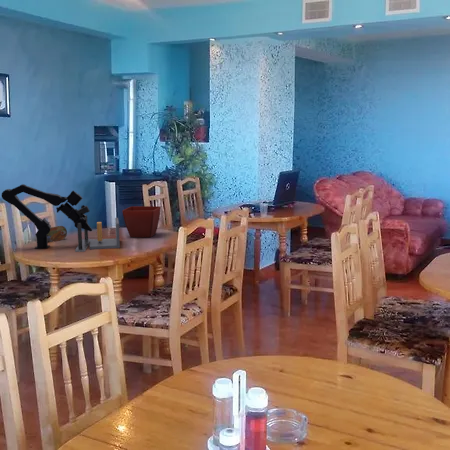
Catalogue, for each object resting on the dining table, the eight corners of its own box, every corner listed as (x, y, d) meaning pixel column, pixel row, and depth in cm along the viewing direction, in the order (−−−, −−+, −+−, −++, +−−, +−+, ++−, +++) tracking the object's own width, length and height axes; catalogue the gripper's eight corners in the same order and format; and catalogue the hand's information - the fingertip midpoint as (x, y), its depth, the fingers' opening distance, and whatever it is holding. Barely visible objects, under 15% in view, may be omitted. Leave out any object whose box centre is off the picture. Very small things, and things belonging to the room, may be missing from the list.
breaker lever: (97, 243, 337) (96, 223, 335) (97, 241, 342) (97, 222, 340) (102, 243, 337) (101, 223, 336) (102, 241, 342) (101, 221, 340)
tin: (46, 243, 348) (45, 228, 346) (43, 242, 350) (42, 228, 348) (67, 239, 359) (66, 225, 358) (64, 238, 361) (63, 224, 360)
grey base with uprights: (89, 249, 328) (88, 224, 326) (90, 241, 349) (89, 218, 347) (119, 248, 331) (118, 223, 329) (118, 240, 352) (117, 217, 350)
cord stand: (75, 252, 322) (73, 223, 320) (82, 241, 353) (81, 215, 351) (84, 251, 323) (83, 223, 320) (91, 240, 354) (90, 215, 352)
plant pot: (122, 238, 360) (121, 210, 357) (131, 232, 379) (131, 206, 376) (154, 238, 357) (153, 210, 355) (161, 233, 376) (161, 206, 373)
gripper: (79, 203, 325) (101, 222, 329) (80, 199, 343) (101, 217, 347) (65, 218, 325) (87, 237, 329) (67, 213, 343) (88, 232, 347)
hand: (91, 230), depth 338 cm, fingers closed
